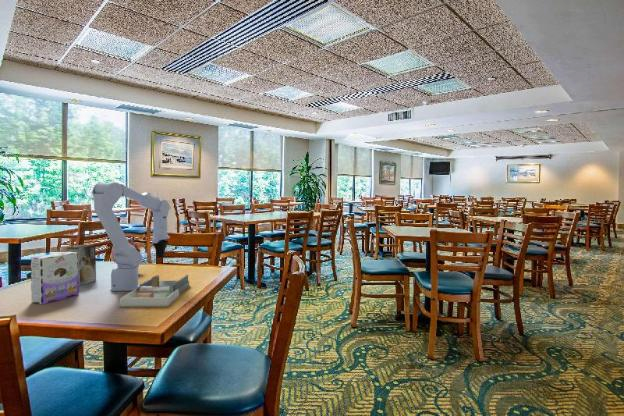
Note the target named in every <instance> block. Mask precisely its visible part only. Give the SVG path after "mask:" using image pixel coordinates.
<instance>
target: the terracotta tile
mask: <svg viewBox="0 0 624 416" xmlns="http://www.w3.org/2000/svg"><path fill="white" fill-rule="evenodd" d="M153 297H154V292H141V293H140V294H138V298H153Z"/></svg>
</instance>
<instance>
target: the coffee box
mask: <svg viewBox="0 0 624 416" xmlns="http://www.w3.org/2000/svg"><path fill="white" fill-rule="evenodd" d="M66 252H78V281H79V286H83V285H86V284H89V283H92V282H96V281H97V263H96V261H97V260H96V259H97V257H96V245H95V244H80V245H79V244H78V245H72V246H67V247H66Z"/></svg>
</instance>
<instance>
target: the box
mask: <svg viewBox="0 0 624 416" xmlns="http://www.w3.org/2000/svg"><path fill="white" fill-rule="evenodd" d="M155 293H157V292H154V294H155ZM138 294H140V293H139V292H137V289H135V290H133V291H129V292H128V293H126V294H125V295H123V296H122V297H120V298H119V299H120V301H119V303H120V306H119V307H120V308H121V307H122V308H126V307H127V308H131V307H132V308H135V307H136V308H139V307H142V308H145V307H152V308H153V307H154V308H155V307H158V308H159V307H160V308H161V307H166V308H167V307H169V306H170V305H171V304H172V303H174V302H175V301H176V300H177V299H178V298H179V297H180V294H179V289H177V290H176V291H174V292H169V296H168V297H167V298H154V297H153V298H138Z"/></svg>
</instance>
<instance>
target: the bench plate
mask: <svg viewBox="0 0 624 416" xmlns="http://www.w3.org/2000/svg"><path fill="white" fill-rule="evenodd" d="M154 276H159V274H155V275H154ZM139 285H140V287H141V286H152V277H150V278H149V279H147V280H145V281H144V282H142V283H141V284H139ZM159 286H171V291H169V292H174V291H176V290H177V289H179V295H180V294H181V293H182V292H183V291H185V290H186V289H187V288H188V287H189V286H190V280H189V274H185V275H184V276H183V277H182V278H180V279H178V280H159ZM140 287H139V288H140ZM154 292H158V291H154ZM138 293H141V292H140V290H139V291H138Z"/></svg>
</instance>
